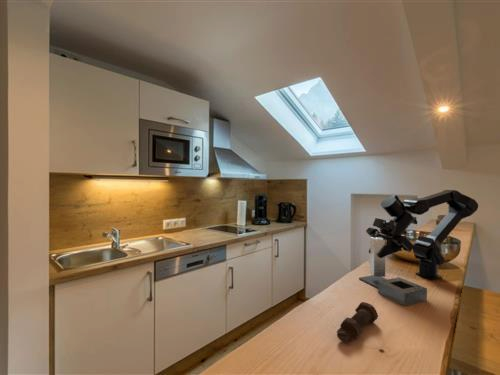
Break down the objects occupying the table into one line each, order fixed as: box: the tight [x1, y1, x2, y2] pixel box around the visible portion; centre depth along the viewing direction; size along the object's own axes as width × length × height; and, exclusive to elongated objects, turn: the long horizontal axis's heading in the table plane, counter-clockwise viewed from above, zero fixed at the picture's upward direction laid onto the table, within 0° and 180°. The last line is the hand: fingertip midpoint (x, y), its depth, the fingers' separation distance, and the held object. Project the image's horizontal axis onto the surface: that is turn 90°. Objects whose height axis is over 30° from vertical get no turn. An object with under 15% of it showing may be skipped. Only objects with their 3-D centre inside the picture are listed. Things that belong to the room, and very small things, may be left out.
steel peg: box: [369, 236, 386, 278], centre depth 96 cm, size 4×4×14 cm
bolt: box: [336, 301, 379, 344], centre depth 65 cm, size 6×5×15 cm
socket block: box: [377, 276, 428, 307], centre depth 84 cm, size 10×10×4 cm
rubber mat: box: [358, 274, 388, 289], centre depth 96 cm, size 9×9×1 cm
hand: (374, 255), depth 96 cm, fingers closed on steel peg, 5 cm apart
